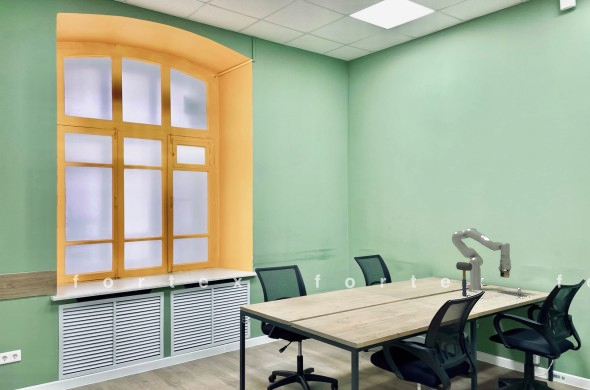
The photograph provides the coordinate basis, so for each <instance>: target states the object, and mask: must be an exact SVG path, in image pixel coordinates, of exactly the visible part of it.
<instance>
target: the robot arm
mask: <svg viewBox="0 0 590 390" xmlns="http://www.w3.org/2000/svg"><path fill="white" fill-rule="evenodd" d="M465 239H472V240H474V241H476V242H478V243H479V244H481V245H482V246H483V247H485V248H487V249H488V250H489V249H490V250H491V251H493V252H495V251H500V259H499V266H498V270H499V272H500V274H499V277H500V276H502V277H501V278H505V277H504V272H503V271H509V276H510V273H511V269H512V263H511V260H512V259H511V258H510V257H511V256H510V255H511V252H510V250H511V245H510V243H508V242H499V241H492V240H490V239H489V238H488V237H487V236H486V235H485V234H484V233H482V232H480V231H478V230H477V228H475V227H469V228H467V229H462V230H457V231H454V232H453V234H452V236H451V242H452V244H453V246H454V247H456V249H457V250H458V251H459V252H460V254H461V255H462V257H464V258H466V259H469V262H468V263H471V264H472V270H471V271H469V284H468V285H467V286H466V288H468V291H469V290H471V291H470V292H473V291H481V290H483V289H482V271H481V270H482V269H481V266H482V265H483V264H484V260H483V259H484V258H482V256H481V255H480V254H479V252H477V251H476V250H475V249H474V248H472V247H469V246H468V245H467V244H466V243H465V242H464V241H463V240H465Z"/></svg>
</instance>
